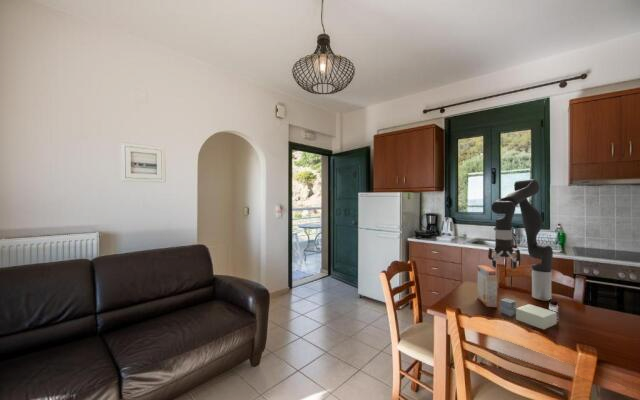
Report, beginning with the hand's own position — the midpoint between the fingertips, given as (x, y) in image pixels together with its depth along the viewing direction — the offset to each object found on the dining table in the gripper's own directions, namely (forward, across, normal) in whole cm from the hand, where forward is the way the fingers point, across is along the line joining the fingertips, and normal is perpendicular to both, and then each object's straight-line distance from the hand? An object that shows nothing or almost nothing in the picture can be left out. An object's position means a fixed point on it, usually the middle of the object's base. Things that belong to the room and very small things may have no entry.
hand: (504, 267), depth 145 cm
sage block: (+25, -12, +5) cm, 29 cm away
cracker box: (+25, +6, -14) cm, 29 cm away
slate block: (+25, -2, -1) cm, 25 cm away
